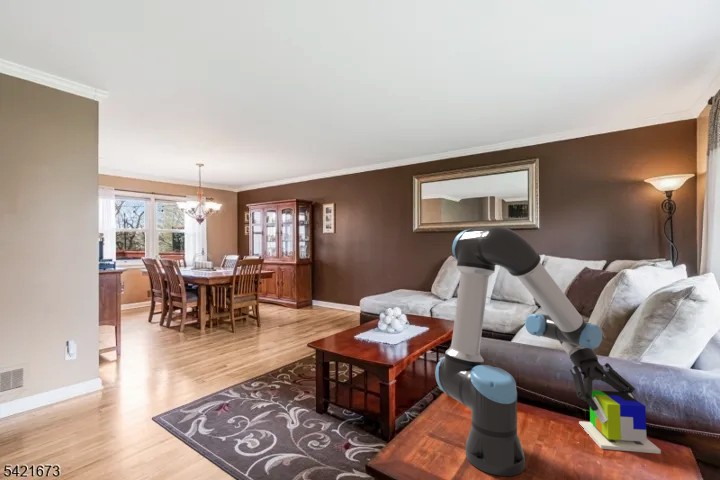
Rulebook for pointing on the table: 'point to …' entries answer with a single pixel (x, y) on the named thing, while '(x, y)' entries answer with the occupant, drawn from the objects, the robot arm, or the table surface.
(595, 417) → the puzzle toy
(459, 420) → the table surface
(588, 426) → the letter board
